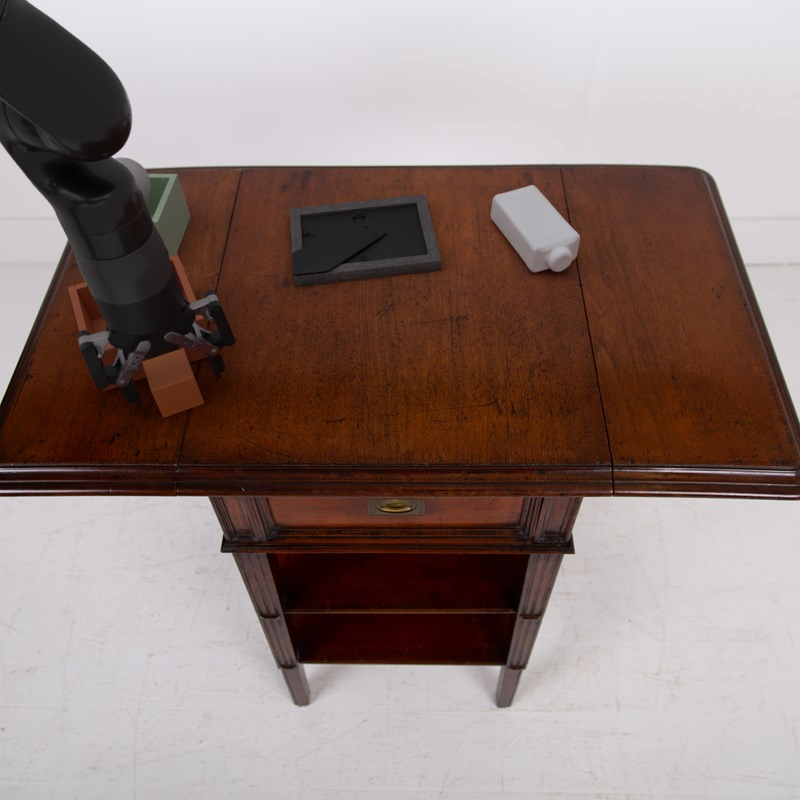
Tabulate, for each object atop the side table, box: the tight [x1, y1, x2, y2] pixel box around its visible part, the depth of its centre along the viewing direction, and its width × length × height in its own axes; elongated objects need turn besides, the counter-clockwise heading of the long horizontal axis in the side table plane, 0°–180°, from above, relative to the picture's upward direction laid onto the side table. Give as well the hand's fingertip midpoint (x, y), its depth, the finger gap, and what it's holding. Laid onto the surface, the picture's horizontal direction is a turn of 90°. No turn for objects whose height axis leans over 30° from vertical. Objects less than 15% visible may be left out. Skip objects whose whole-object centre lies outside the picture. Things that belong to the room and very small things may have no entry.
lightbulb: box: [113, 156, 151, 207], centre depth 94 cm, size 6×6×11 cm
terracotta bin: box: [67, 253, 208, 392], centre depth 85 cm, size 13×12×6 cm
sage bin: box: [148, 173, 191, 257], centre depth 96 cm, size 10×10×7 cm
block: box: [142, 348, 205, 418], centre depth 80 cm, size 4×4×4 cm
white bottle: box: [490, 184, 581, 273], centre depth 94 cm, size 6×13×4 cm, turn 22°
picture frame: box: [289, 193, 442, 287], centre depth 96 cm, size 13×2×18 cm
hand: (178, 386), depth 81 cm, fingers open, 8 cm apart
